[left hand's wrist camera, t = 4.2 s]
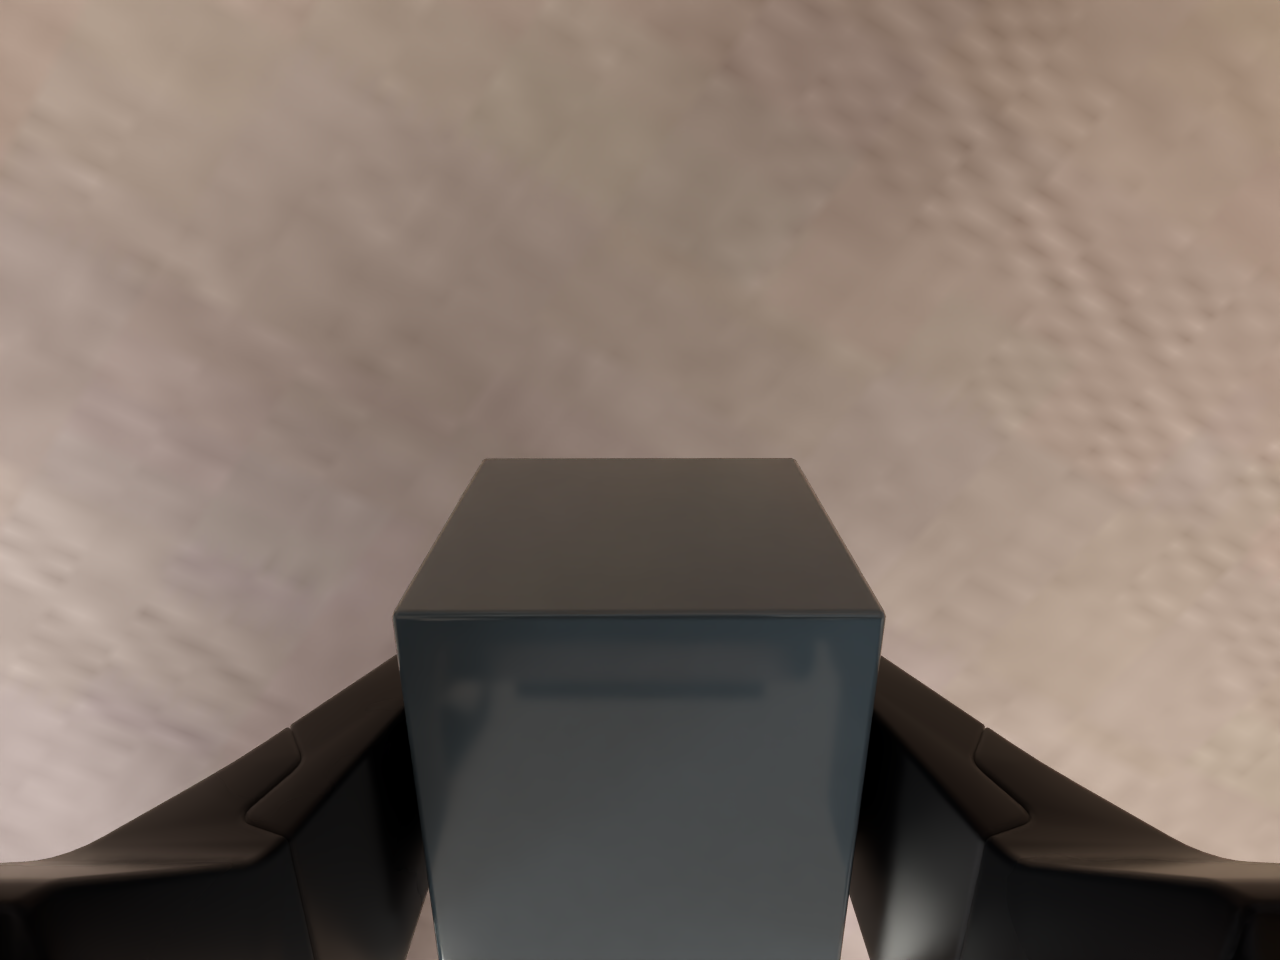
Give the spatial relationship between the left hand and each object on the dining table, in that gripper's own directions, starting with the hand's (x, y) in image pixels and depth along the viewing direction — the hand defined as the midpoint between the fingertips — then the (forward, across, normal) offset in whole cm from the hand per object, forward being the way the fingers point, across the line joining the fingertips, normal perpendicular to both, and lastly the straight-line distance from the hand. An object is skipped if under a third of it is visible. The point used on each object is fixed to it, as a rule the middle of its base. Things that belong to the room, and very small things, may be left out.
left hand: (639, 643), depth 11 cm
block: (+1, 0, 0) cm, 1 cm away
